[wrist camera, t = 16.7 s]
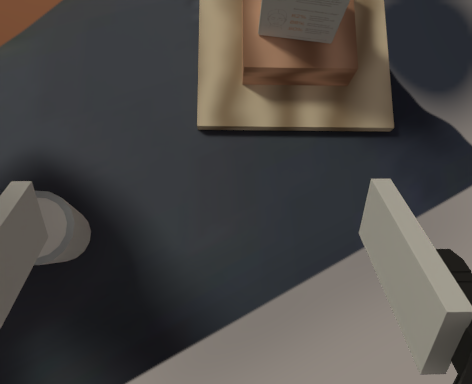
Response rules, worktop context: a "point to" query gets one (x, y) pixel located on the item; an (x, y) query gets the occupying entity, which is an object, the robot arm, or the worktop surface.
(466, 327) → the robot arm
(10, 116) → the worktop surface
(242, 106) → the tower base
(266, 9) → the small box
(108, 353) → the worktop surface
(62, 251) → the shot glass
